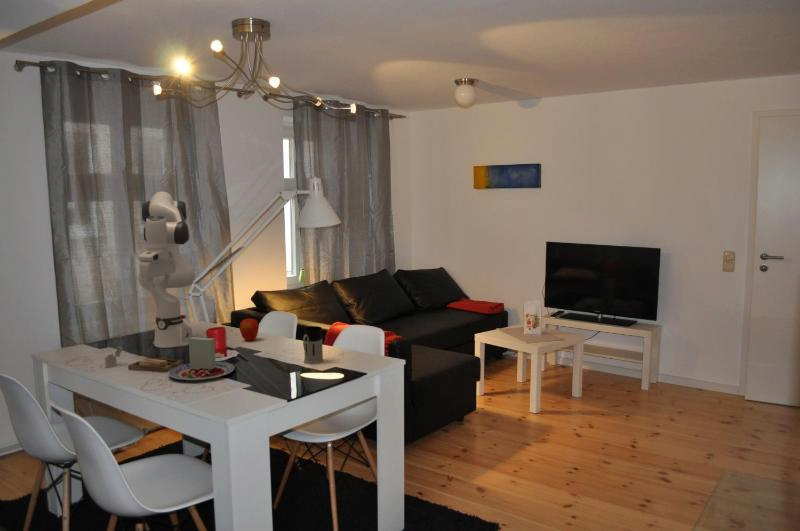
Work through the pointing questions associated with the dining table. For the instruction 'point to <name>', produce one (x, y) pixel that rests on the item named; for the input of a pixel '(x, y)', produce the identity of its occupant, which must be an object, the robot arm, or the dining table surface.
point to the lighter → (112, 358)
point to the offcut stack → (153, 362)
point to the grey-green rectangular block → (202, 353)
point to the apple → (249, 329)
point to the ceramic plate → (200, 372)
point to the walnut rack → (171, 364)
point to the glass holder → (313, 345)
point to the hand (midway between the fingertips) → (159, 286)
